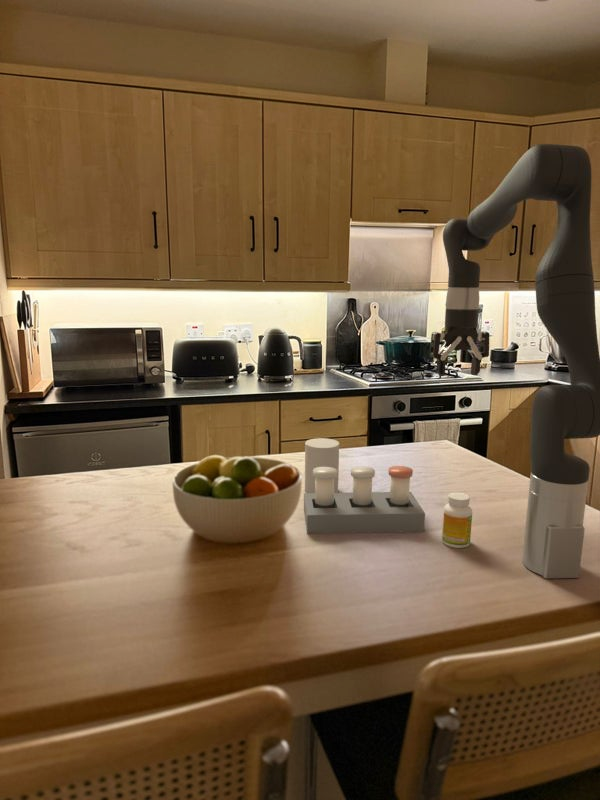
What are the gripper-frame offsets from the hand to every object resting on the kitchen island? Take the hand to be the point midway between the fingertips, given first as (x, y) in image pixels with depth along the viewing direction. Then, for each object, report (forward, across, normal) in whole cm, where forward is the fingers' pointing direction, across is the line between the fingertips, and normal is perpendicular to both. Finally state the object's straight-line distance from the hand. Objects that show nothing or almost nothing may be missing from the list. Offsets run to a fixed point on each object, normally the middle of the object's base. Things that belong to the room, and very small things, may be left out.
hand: (458, 375), depth 138 cm
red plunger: (+24, -21, -17) cm, 36 cm away
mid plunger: (+24, -29, -16) cm, 41 cm away
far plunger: (+24, -37, -15) cm, 46 cm away
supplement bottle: (+28, -14, -30) cm, 43 cm away
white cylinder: (+28, -33, +3) cm, 43 cm away
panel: (+28, -29, -16) cm, 43 cm away
